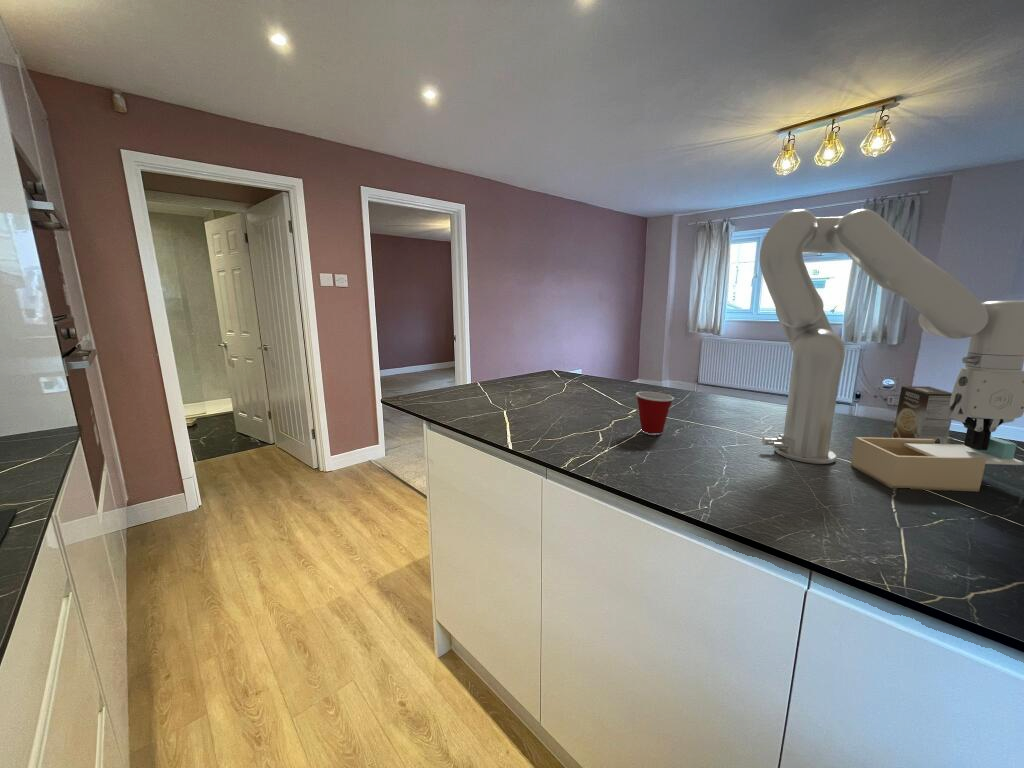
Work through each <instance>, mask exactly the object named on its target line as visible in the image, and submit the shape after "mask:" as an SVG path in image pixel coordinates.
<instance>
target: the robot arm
mask: <svg viewBox="0 0 1024 768" xmlns="http://www.w3.org/2000/svg"><path fill="white" fill-rule="evenodd" d="M803 253H804V254H805V253H807V254H811V253H812V254H846V255H847V256H848V258H850V259H851V260H852V261H853V262H854V264H856V265H857V266H858V267H859V268H860V269H861V270H862V271H863V272H864V273H865V274H866V275H867V276H868V277H869V278H870V279H871V280H872V281H873V282H874V283H875V284H877V285H878V286H880V287H881V288H883V289H885V290H886V291H888V292H891V293H894V294H895V295H897V296H899V297H900V298H901V299H903V300H904V301H905V302H906V303H908V304H909V305H911V306H912V308H914V309H915V310H916V311H918V313H919V316H918V324H919V327H920V328H921V329H922V330H923V331H925V332H926V333H928V334H930V335H933V336H938V337H943V338H947V339H954V340H956V339H957V340H958V339H968V338H969V339H970V341H969V346H968V350H967V355H966V356H965V357H964V356H963V357H962V359H961V361H962V363H963V364H964V365H965V366H964V367H962V368H961V369H960V371H959V374H958V375H957V377H956V380H955V382H954V385H953V389H952V391H951V393H952V395H951V399H950V411H951V412H952V414H951V416H950V419H952V420H951V421H954V422H959V423H962V425H963V427H964V428H965V429H966V433H965V439H964V442H963V444H964V445H965V446H967V447H970V448H973V449H976V450H987V449H988V445H989V441H990V436H992V433H994V432H996V431H997V428H998V427H1000V426H1001V425H1003V424H1007V423H1013V422H1014V421H1015V419H1019V418H1021V417H1023V415H1024V369H1023V368H1024V300H1014V299H1013V300H990V301H989V300H988V301H984V302H981V301H980V299H978V298H977V296H975V295H974V294H973V293H972V292H971V291H970V290H969V289H967V288H966V287H965V285H963V284H962V283H961V282H960V281H959V280H958V279H956V278H955V277H953V275H951V274H950V273H948V272H947V271H945V270H944V269H943V268H942V267H940V266H938V265H937V264H936V263H934V262H933V261H932V260H931V259H929V258H928V257H926V256H924V255H923V254H922V253H921V252H919V251H918V250H917V249H916V248H915V247H914V246H913V245H912V244H911V243H910V242H909V241H907V239H906V238H904V236H902V234H900V233H899V232H898V231H897V230H896V229H895V228H893V226H892V225H891V224H889V222H888V221H886V220H885V219H884V218H883V217H882V216H881V215H879V213H877V212H876V211H873V210H872V209H868V208H860V209H855V210H852V211H851V212H848V213H846V214H845V215H843V216H829V217H828V216H826V217H824V216H823V217H822V216H820V217H819V216H817V217H816V216H815V215H814V213H813V212H811V211H810V210H807V209H803V208H798V209H792V210H789V211H787V212H785V213H784V214H783V215H781V216H779V218H778V219H777V220H776V221H775V222H774V223H773V224H772V225H771V226H770V228H769V229H768V231H767V232H766V234H765V235H764V238H763V240H762V242H761V246H760V250H759V258H758V260H759V267H760V271H761V275H762V277H763V280H764V282H765V284H766V286H767V290H768V292H769V295H770V297H771V299H772V302H773V304H774V307H775V313H776V316H777V319H778V321H779V323H780V326H781V329H782V330H783V332H784V335H785V337H786V340H787V342H788V344H789V346H790V348H791V350H792V352H793V356H792V366H791V371H790V379H789V387H788V394H787V395H788V396H787V403H786V410H785V411H786V412H785V421H784V428H783V429H784V430H783V433H778V436H775V438H774V437H773V438H772V437H762V439H761V443H762V445H763V446H772V448H774V451H775V452H776V453H777V454H778V455H780V456H782V457H783V458H786V459H790V460H792V461H797V462H801V463H807V464H817V465H820V464H821V465H823V464H824V465H825V464H833V463H834V462H836V460H837V454H836V453H835V452H833V450H832V451H831V450H830V445H831V437H832V431H833V425H834V417H835V412H836V404H837V397H838V390H839V384H840V380H841V379H840V378H841V374H842V371H843V367H844V362H845V357H846V348H845V343H844V341H843V339H842V338H841V337H840V336H839V335H838V334H837V333H835V332H834V330H833V329H832V326H831V324H830V322H829V319H828V317H827V315H826V313H825V311H824V306H825V305H824V300H823V298H822V297H821V295H820V294H819V293H818V291H817V289H816V287H815V284H814V283H813V280H812V278H811V276H810V274H809V271H808V268H807V265H806V264H805V261H804V256H803Z"/></svg>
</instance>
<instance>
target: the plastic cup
mask: <svg viewBox="0 0 1024 768" xmlns="http://www.w3.org/2000/svg"><path fill="white" fill-rule="evenodd" d="M635 396H636V400H637V405H638V406H637V407H638V413H639V422H640V427H641V429H642V430H643V431H645V432H648V433H661V432H662V433H663V431H664V428H665V424H666V422H667V417H668V413H669V410H670V407H671V404H672V402H673V401H674V400H675V397H674V396H672V395H670V394H666V393H662V392H656V391H655V392H654V391H638V392H635ZM642 430H641V431H642Z"/></svg>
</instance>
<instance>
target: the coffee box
mask: <svg viewBox="0 0 1024 768" xmlns="http://www.w3.org/2000/svg"><path fill="white" fill-rule="evenodd" d="M951 395H952V392H949V391H946V390H943V389H939V388H936V387H932V386H928V385H927V386H920V385H919V386H918V385H917V386H913V385H912V386H910V385H907V386H906V385H905V386H904V385H903V386H901V388H900V393H899V398H898V404H897V410H896V415H895V420H894V426H893V430H892V431H893V432H892V435H891V436H892V437H891V438H912V439H934V440H935V442H934V444H948V438H949V433H950V429H951V425H952V421H953V420H952V419H950V416H951V414H952V412H951V411H950V399H951Z"/></svg>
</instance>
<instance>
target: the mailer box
mask: <svg viewBox="0 0 1024 768" xmlns="http://www.w3.org/2000/svg"><path fill="white" fill-rule="evenodd" d="M934 442H935V440H934V439H912V438H892V437H870V436H869V437H867V436H866V437H861V436H855V437H854V442H853V443H854V444H853V448H852V449H853V450H852V455H851V462H850V466H852V467H853V468H855V469H856V470H858V471H860V472H862V473H863V474H865V475H867V476H869V477H871V478H872V479H874V480H875V481H878V482H879V483H881V484H883V485H885V486H886V487H888V488H890V489H897V488H910V489H909V490H924V489H927V491H928V490H929V491H930V490H931V491H950V490H951V491H954V492H955V491H956V492H957V491H959V492H980V488H981V486H982V485H981V484H982V480H983V477H984V472H985V467H986V464H985V463H986V459H985V458H968V457H932V456H927V455H925V454H923V453H920V452H918V451H916V450H913V449H911V448H908V447H906V446H904V443H923V444H934Z"/></svg>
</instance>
